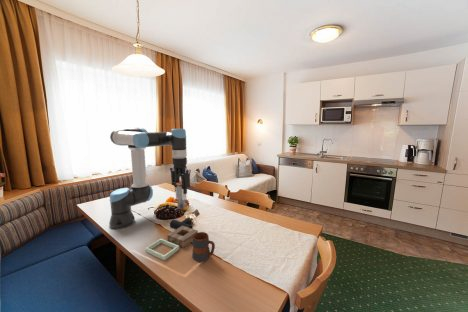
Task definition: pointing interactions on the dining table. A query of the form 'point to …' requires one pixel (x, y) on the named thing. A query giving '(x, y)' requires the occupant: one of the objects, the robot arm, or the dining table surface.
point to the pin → (180, 195)
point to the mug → (202, 247)
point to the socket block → (181, 236)
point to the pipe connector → (182, 223)
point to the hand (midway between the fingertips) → (181, 198)
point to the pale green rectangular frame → (161, 256)
